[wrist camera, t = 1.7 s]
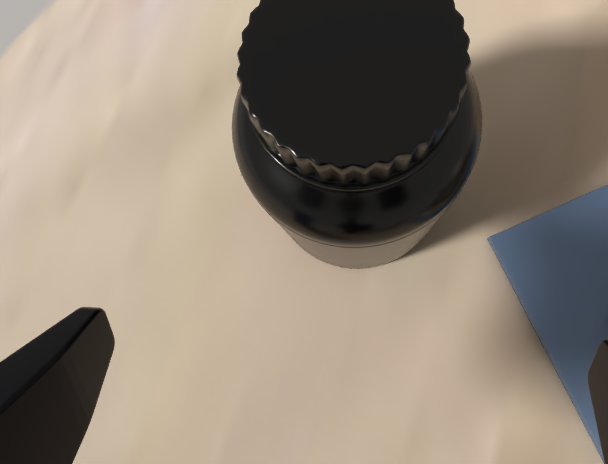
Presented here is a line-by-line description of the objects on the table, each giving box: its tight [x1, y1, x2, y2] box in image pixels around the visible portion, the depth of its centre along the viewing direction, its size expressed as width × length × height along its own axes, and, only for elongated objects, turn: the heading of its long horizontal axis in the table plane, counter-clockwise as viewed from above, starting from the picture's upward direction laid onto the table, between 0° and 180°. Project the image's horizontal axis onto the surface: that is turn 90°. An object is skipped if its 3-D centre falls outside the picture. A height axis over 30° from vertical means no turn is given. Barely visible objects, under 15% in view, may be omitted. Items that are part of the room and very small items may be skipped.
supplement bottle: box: [232, 0, 482, 269], centre depth 16 cm, size 7×7×12 cm
